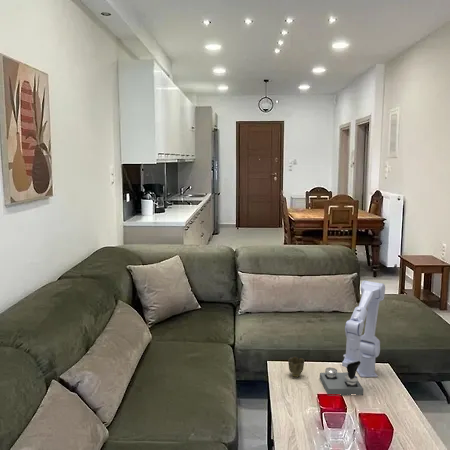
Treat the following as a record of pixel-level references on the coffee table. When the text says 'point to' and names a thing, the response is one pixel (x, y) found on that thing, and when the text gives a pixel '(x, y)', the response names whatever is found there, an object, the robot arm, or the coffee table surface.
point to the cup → (296, 366)
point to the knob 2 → (351, 381)
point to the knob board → (340, 385)
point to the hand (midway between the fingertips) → (351, 377)
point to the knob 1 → (331, 373)
